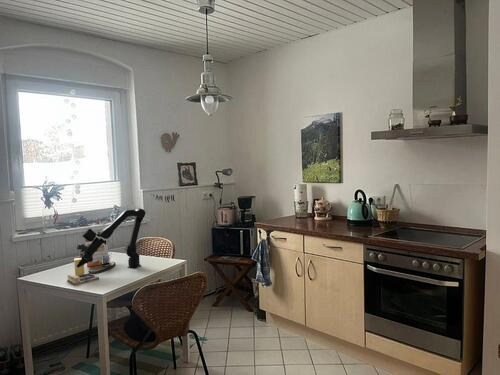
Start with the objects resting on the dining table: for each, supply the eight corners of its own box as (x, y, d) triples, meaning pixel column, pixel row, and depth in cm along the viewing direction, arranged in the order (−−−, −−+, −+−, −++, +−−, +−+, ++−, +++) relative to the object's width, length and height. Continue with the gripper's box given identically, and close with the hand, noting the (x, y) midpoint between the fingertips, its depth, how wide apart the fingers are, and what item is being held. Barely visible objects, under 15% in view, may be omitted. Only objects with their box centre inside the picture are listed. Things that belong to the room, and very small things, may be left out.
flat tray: (90, 275, 232) (89, 269, 232) (99, 279, 224) (98, 272, 224) (67, 281, 222) (66, 274, 221) (75, 285, 214) (75, 278, 213)
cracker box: (86, 267, 253) (84, 236, 251) (87, 264, 258) (85, 235, 257) (108, 264, 258) (106, 234, 256) (108, 262, 263) (106, 232, 262)
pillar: (83, 274, 235) (82, 257, 234) (84, 276, 231) (83, 259, 230) (75, 275, 233) (74, 258, 232) (75, 277, 228) (74, 260, 228)
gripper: (82, 236, 240) (64, 255, 236) (85, 240, 224) (66, 261, 219) (96, 246, 245) (79, 265, 240) (100, 251, 228) (82, 272, 224)
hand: (76, 266), depth 231 cm, fingers open, 5 cm apart
